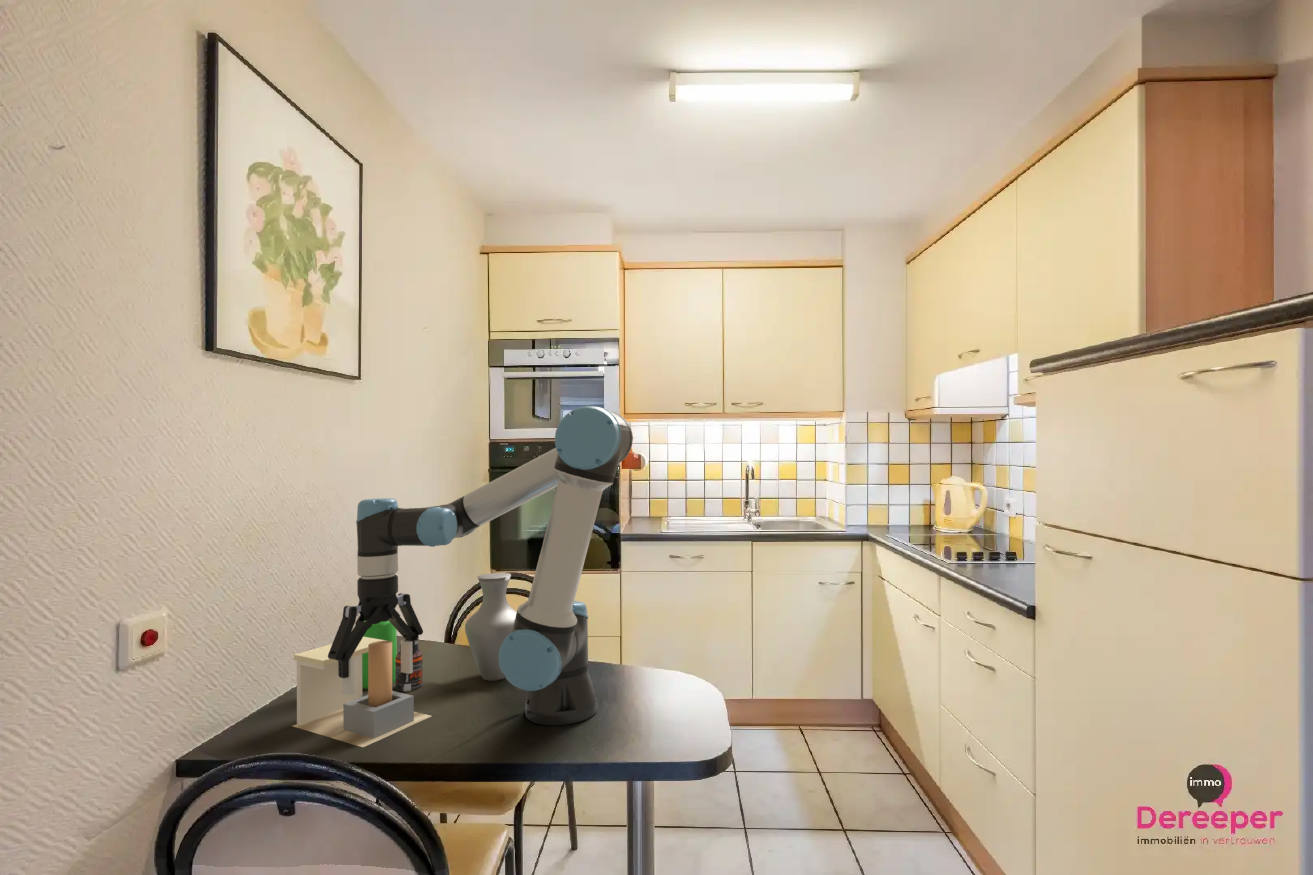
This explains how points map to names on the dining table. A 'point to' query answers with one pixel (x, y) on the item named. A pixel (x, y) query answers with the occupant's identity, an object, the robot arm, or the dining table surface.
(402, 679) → the supplement bottle
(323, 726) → the board
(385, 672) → the peg
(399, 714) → the socket
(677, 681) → the dining table surface
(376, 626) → the bottle
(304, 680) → the cream shelf stand
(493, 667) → the vase
